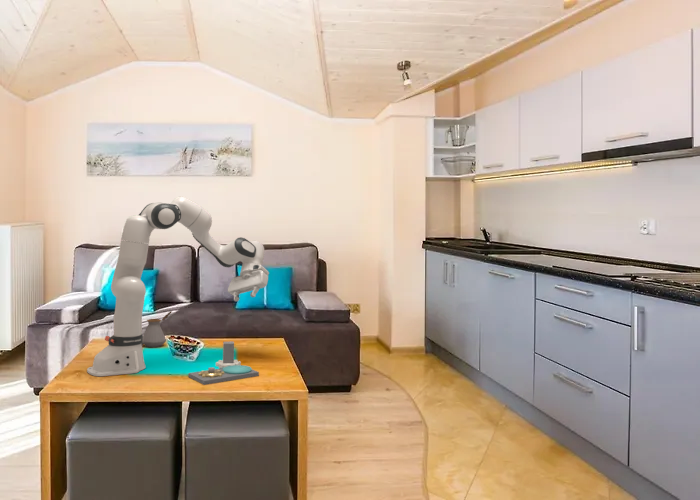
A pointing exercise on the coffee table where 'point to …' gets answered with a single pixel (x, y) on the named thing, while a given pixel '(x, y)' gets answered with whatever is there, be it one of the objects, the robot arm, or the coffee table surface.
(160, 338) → the coffee pot
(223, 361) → the loose gear
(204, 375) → the gear board
